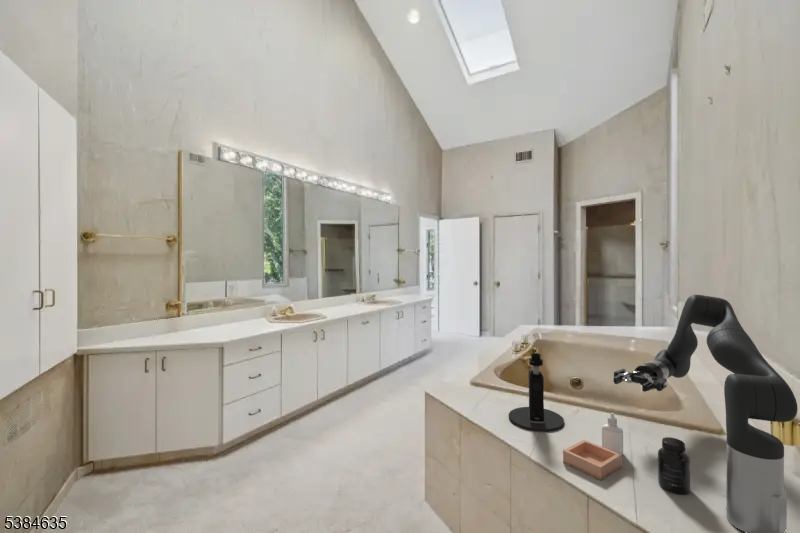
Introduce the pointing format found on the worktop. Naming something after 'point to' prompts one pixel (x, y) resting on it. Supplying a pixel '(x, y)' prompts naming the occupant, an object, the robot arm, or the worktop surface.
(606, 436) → the eye dropper bottle
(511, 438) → the worktop surface
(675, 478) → the supplement bottle
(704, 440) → the worktop surface
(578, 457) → the tray
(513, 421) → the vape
